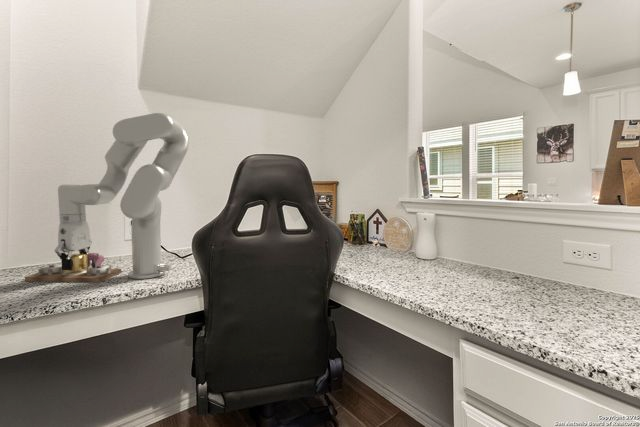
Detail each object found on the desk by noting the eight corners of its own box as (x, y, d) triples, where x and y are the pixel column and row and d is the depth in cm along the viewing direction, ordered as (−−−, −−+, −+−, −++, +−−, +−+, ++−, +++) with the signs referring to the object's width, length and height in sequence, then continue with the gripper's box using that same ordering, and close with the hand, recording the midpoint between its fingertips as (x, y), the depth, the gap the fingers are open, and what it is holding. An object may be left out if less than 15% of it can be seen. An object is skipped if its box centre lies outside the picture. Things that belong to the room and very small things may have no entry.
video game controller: (102, 271, 130) (107, 254, 132) (94, 268, 125) (100, 251, 128) (80, 270, 131) (85, 253, 133) (71, 267, 126) (77, 250, 129)
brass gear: (92, 266, 120) (91, 253, 119) (78, 271, 113) (77, 257, 112) (73, 266, 120) (72, 252, 119) (57, 271, 112) (56, 257, 112)
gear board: (121, 272, 122) (120, 256, 122) (100, 282, 111) (99, 263, 110) (53, 271, 122) (52, 255, 122) (25, 281, 110) (23, 262, 110)
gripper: (64, 221, 106) (67, 273, 107) (99, 216, 123) (102, 261, 125) (41, 221, 106) (45, 273, 107) (80, 216, 123) (82, 261, 125)
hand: (75, 266), depth 116 cm, fingers closed on brass gear, 7 cm apart
